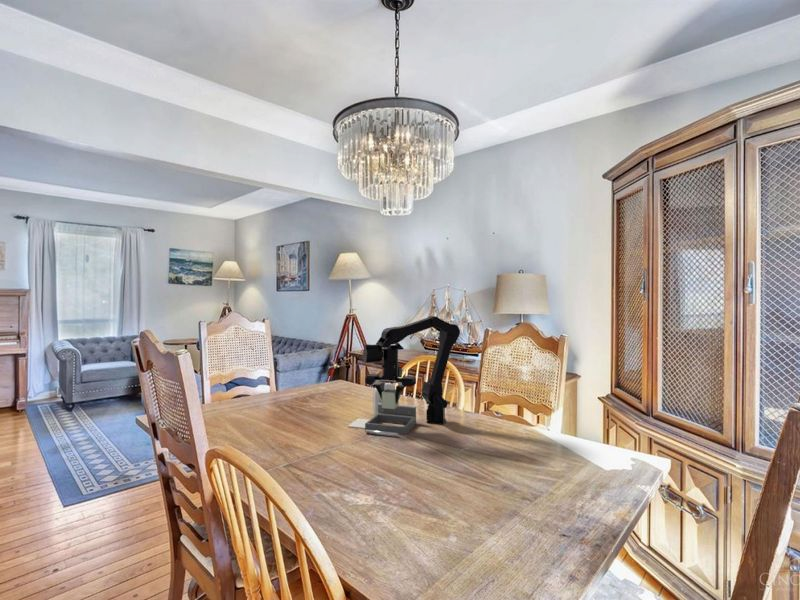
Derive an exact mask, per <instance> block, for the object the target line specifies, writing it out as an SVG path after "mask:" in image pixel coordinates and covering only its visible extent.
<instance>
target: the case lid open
mask: <svg viewBox="0 0 800 600" xmlns="http://www.w3.org/2000/svg"><path fill="white" fill-rule="evenodd" d="M378 413H380V414H391V415H401V416H411V417H415V424H417V405H416V406H415V405H406V404H399V406H398V407H396V408H395V409H388V408H382V403H378Z"/></svg>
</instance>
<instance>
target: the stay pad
mask: <svg viewBox="0 0 800 600" xmlns="http://www.w3.org/2000/svg"><path fill="white" fill-rule="evenodd" d="M369 420H370V419H369V418H359V417H358V418H357V419H355V420H354V421H353V422H351V423H349V424H348V425H347V427H348V428H354V429H363V430H365V423H366V422H368V421H369Z"/></svg>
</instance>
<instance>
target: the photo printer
mask: <svg viewBox="0 0 800 600" xmlns="http://www.w3.org/2000/svg"><path fill="white" fill-rule="evenodd" d="M394 384H395V383H392V382H385V386H384V390H386V389H394V390H396V385H394ZM378 403H382V399H381V397H380V395H379V392H378V391H377V389H376V387H375V386H374V389H373V413H374V414H375V415H377V413H378Z"/></svg>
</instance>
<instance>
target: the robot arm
mask: <svg viewBox="0 0 800 600" xmlns="http://www.w3.org/2000/svg"><path fill="white" fill-rule="evenodd" d="M430 328H433V329H434V330H436V331H437V332H439V334H438V340H439V347H438V351H437V353H436V357H435V360H434V365H433V368H432V370H431V371H432V372H431V374H430V377H429V380H428V381H427V382H426V381H423V383H422V384H423V385H422V388H421V390H420V392H421V396H422V398H423V400H425V403H426V405H428V406H427V409H425V410H426V423H427V424H437V425H443V424H444V423H445V422H446V420H447V419H446V409H447V407H448V404H449V403H448V401H447V400H446V399H444V397H443V393H444V389H443V379H444V376H445V372H446V368H447V365H448V360H449V358H450V354H451V350H452V348H453V346H454V345H455V344H456V343H457V342H458V339H459V337H460V334H461V329H460V328H459V326H458V325H457V324H453V323H449V322H447V321H444V320H442V319H440V318H439V317H438V316H436V315H435V316H434V315H430V316H428V317H426V318H425V317H424V318H423V319H419V320H416V321H413V322H410V323H407V324H405V325H402V326H393V327H392V326H391V327H386V328H383V330H382V332H381V335H380V338H379V339H378V340H377V341H376V343H375V344H370V343H368V344H364V348H363V351H362V361H363V363H364V364H369V363H371V364H372V363H373V364H374V363H380V362H381V361H382V364H381V368H382V376H381V375H380V374H378V373H369V374H367V375H366V376H365V378H364V383H365V384H367V385H368V384H370V385H372V386H373V387H374V388H375V387H376V389H377V391H378V392H379V395H380V397H381V399H382V392H383V391H384V386H385V383H391V384H397V386H396V385H395V390H396V403H398V401H399V402H400V399H401V394H402V393H403V390H404V389H405V388H407V387H414V386H415V385H416V384H417V379H416V377H415V376H412V375H411V376H410V375H406V376H404V377H403V368H401V367H400V364H399V350H404V347H403V346H402V345H401V344H400V342H401V341H403V340H405V339H406V338H407V337H409V336H411V335H414V334H417V333H420V332H422V331H425V330H429V329H430Z"/></svg>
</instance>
